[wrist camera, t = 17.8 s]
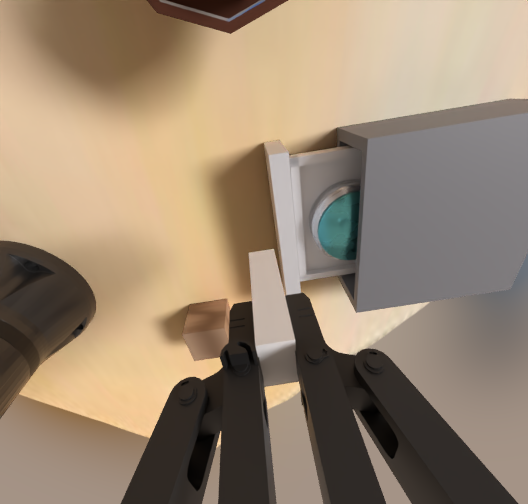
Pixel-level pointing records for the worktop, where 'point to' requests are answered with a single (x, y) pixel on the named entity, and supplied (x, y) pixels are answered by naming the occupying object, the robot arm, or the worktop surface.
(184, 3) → the ice cream bowl
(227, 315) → the block
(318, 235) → the disc
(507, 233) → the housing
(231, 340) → the robot arm
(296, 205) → the tray
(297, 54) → the worktop surface
